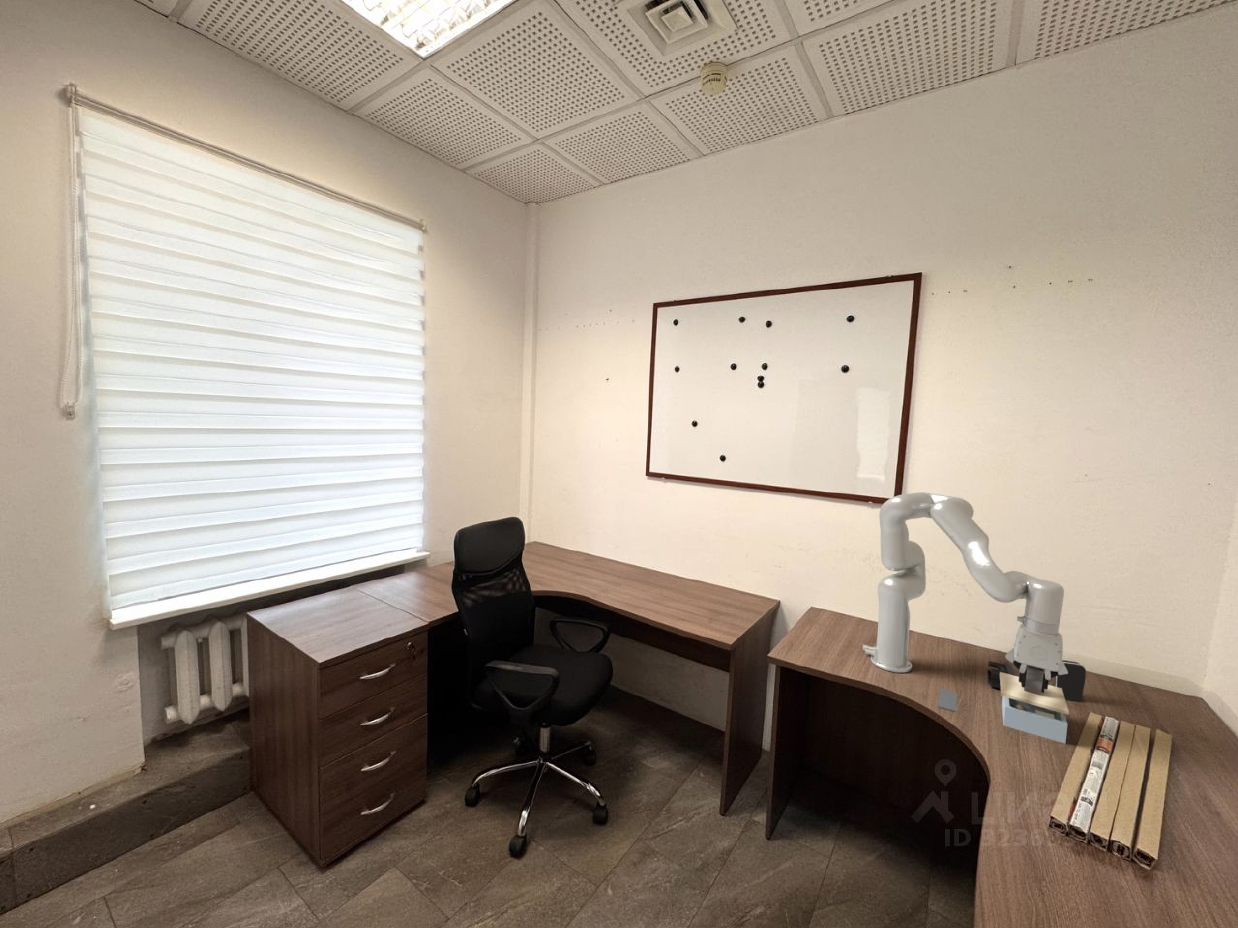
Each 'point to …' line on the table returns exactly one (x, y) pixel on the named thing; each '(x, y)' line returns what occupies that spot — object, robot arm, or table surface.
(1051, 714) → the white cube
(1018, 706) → the cork ball
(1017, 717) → the box
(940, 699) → the mat
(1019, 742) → the table surface
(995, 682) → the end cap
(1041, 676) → the lid
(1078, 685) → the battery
